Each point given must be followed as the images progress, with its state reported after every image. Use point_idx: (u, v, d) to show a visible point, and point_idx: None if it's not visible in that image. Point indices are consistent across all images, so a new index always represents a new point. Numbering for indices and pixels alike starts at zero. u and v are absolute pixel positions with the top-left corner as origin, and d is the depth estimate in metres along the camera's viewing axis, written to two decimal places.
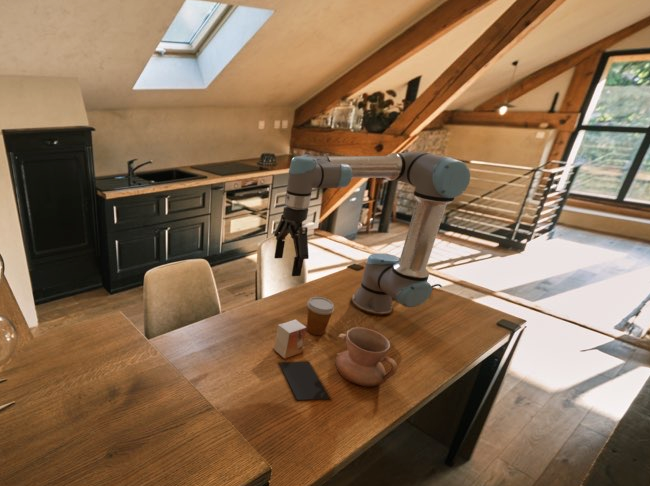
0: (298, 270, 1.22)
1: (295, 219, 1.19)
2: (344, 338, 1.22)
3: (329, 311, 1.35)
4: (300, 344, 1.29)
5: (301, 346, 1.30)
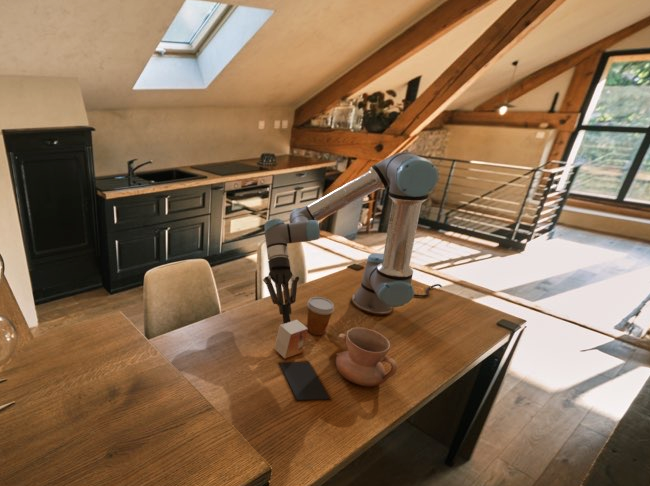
0: (284, 317, 1.32)
1: (269, 268, 1.41)
2: (344, 338, 1.22)
3: (329, 311, 1.35)
4: (301, 345, 1.29)
5: (301, 346, 1.30)
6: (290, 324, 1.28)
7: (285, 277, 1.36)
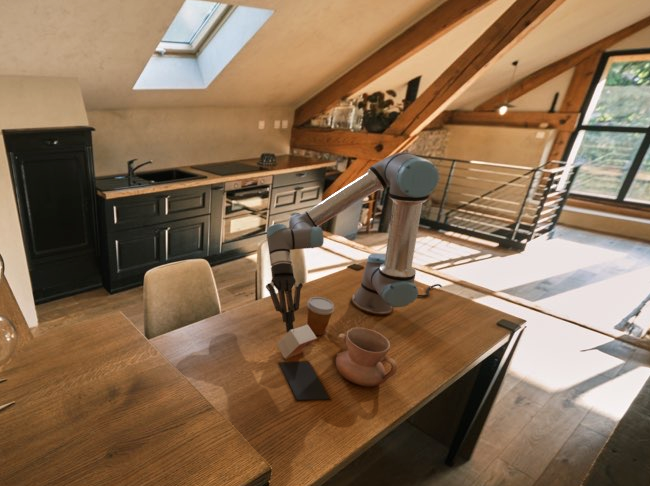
0: (287, 325, 1.29)
1: None
2: (344, 338, 1.22)
3: (329, 311, 1.35)
4: (304, 348, 1.28)
5: (304, 349, 1.29)
6: (300, 330, 1.24)
7: (288, 284, 1.33)
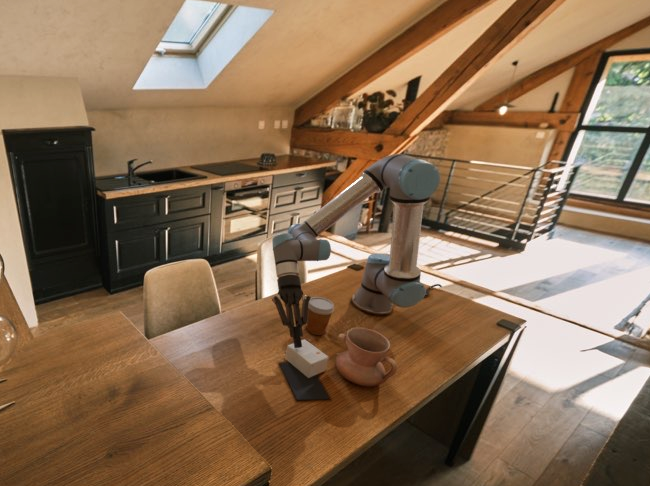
0: (295, 341, 1.23)
1: (278, 287, 1.31)
2: (344, 338, 1.22)
3: (329, 311, 1.35)
4: None
5: None
6: (318, 364, 1.19)
7: (296, 297, 1.27)
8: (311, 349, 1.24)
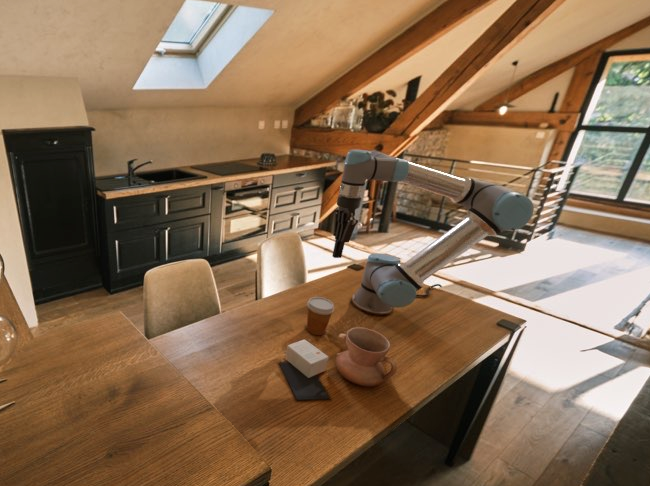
0: (339, 252, 1.40)
1: (348, 207, 1.31)
2: (344, 338, 1.22)
3: (329, 311, 1.35)
4: None
5: None
6: (318, 364, 1.19)
7: None
8: (311, 349, 1.24)
